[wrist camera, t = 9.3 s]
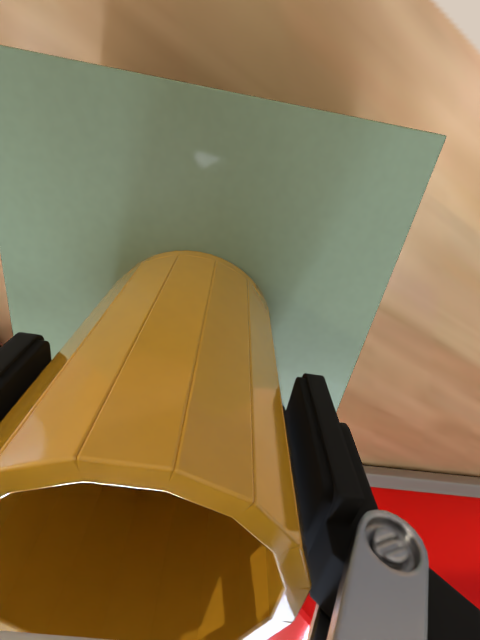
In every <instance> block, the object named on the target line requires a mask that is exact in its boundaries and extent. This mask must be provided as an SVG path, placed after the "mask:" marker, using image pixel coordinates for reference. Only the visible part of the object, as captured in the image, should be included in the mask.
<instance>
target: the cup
mask: <svg viewBox="0 0 480 640" xmlns="http://www.w3.org/2000/svg"><path fill="white" fill-rule="evenodd" d="M311 585H312V581H311V574H310V567H309V561H308V554H307V548H306V541H305V535H304V528H303V522H302V515H301V508H300V502H299V495H298V489H297V482H296V476H295V469H294V463H293V456H292V450H291V443H290V436H289V430H288V423H287V417H286V410H285V404H284V397H283V391H282V384H281V377H280V371H279V364H278V358H277V351H276V345H275V338H274V332H273V328H272V323H271V317H270V312H269V308H268V305H267V302H266V300H265V298H264V296H263V294H262V292H261V291H260V289H259V288H258V286H257V285H256V284H255V283H254V281H253V280H252V279H251V278H250V277H249V276H248V275H247V274H246V273H245V272H243V271H242V270H241V269H239V268H238V267H237V266H235V265H234V264H232V263H230V262H228V261H226V260H224V259H222V258H220V257H217V256H214V255H212V254H208V253H203V252H198V251H189V250H183V251H170V252H164V253H161V254H157V255H154V256H151V257H149V258H147V259H145V260H143V261H141V262H140V263H138V264H136V265H135V266H133V267H132V268H131V269H130V270H129V271H128V272H127V273H126V274H125V275H124V276H123V277H122V278H121V279H119V280H118V281H117V282H116V283H115V284H114V285H113V287H112V288H111V289H110V290H109V291H108V293H107V294H106V295H105V296H104V298H103V299H102V300H101V301H100V302H99V304H98V305H97V306H96V307H95V308H94V310H93V311H92V312H91V313H90V314H89V316H88V317H87V318H86V319H85V321H84V322H83V323H82V324H81V325H80V327H79V328H78V329H77V330H76V331H75V333H74V334H73V335H72V336H71V337H70V339H69V340H68V341H67V342H66V344H65V345H64V346H63V347H62V348H61V350H60V351H59V352H58V353H57V354H56V356H55V357H54V358H53V359H52V360H51V362H50V363H49V364H48V365H47V367H46V368H45V369H44V370H43V371H42V373H41V374H40V375H39V376H38V377H37V379H36V380H35V381H34V382H33V384H32V385H31V386H30V387H29V388H28V390H27V391H26V392H25V393H24V394H23V396H22V397H21V398H20V399H19V400H18V402H17V403H16V404H15V405H14V407H13V408H12V409H11V410H10V411H9V413H8V414H7V415H6V416H5V417H4V419H3V420H2V421H1V422H0V631H12V632H24V633H36V634H48V635H61V636H73V637H85V638H97V639H109V640H267V639H269V638H271V637H272V636H274V635H275V634H277V633H278V632H280V631H281V630H283V629H284V628H286V627H287V626H289V625H290V624H292V622H293V621H295V619H296V617H297V615H298V613H299V611H300V609H301V607H302V605H303V603H304V602H305V600H306V598H307V596H308V594H309V592H310V590H311Z"/></svg>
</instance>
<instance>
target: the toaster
mask: <svg viewBox="0 0 480 640" xmlns="http://www.w3.org/2000/svg"><path fill="white" fill-rule="evenodd" d="M363 468H364V471H365V473H366V476H367V479H368V482H369V485H370V487H371V490H372V493H373V496H374V499H375V501H376V504H377V507H378V510H385V511H388V512H391V513H393V514H396V515H397V516H399V517H400V518H402V519H403V520H405V521H406V522H407V523H408V524H409V525H410V526H411V527H412V528H413V529H414V530H415V531H416V532H417V534H418V535H419V536H420V538H421V539H422V541H423V543H424V545H425V548H426V550H427V554H428V560H429V568H431V569H432V570H433V571H434V572H435V573H437V574H438V575H439V576H440V577H441V578H442V579H444V580H445V581H446V582H447V583H448V584H450V585H451V586H452V587H453V588H454V589H456V590H457V591H458V592H459V593H460V594H461V595H463V596H464V597H465V598H466V599H467V600H469V601H470V602H471V603H472V604H473V605H475V606H476V607H477V608H478V609H479V610H480V478H478V477H469V476H459V475H450V474H440V473H431V472H422V471H412V470H403V469H393V468H384V467H374V466H365V465H363ZM315 607H316V602H315V601H314V600H313V599H312V598H311V597H310V594H308V596H307V598H306V600H305V602H304V603H303V605H302V607H301V609H300V611H299V613H298V615H297V617H296V619H295V621H293V622H292V624H290V625H289V626H287V627H286V628H284V629H283V630H281V631H280V632H278V633H277V634H275V635H274V636H272V637H271V638H269V639H267V640H306V639H307V636H308V632H309V628H310V625H311V621H312V617H313V614H314V610H315Z"/></svg>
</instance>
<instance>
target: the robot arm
mask: <svg viewBox="0 0 480 640" xmlns="http://www.w3.org/2000/svg"><path fill="white" fill-rule="evenodd" d="M50 362H51V350H50V343H49V342H48V341H44V337H43V336H42V335H38V334H31V333H24V332H18V333H17V334H15V335H14V336H13V337H12V338H11V339H10V340H9V341H8V342H6V343H5V344H4V345H3V346H2V347H1V348H0V422H1V421H2V420H3V419H4V417H5V416H6V415H7V414H8V413H9V411H10V410H11V409H12V408H13V407H14V405H15V404H16V403H17V402H18V400H19V399H20V398H21V397H22V396H23V394H24V393H25V392H26V391H27V390H28V388H29V387H30V386H31V385H32V384H33V382H34V381H35V380H36V379H37V377H38V376H39V375H40V374H41V373H42V371H43V370H44V369H45V368H46V367H47V365H48V364H49V363H50ZM286 417H287V423H288V430H289V436H290V443H291V450H292V456H293V463H294V469H295V476H296V482H297V489H298V495H299V502H300V508H301V515H302V522H303V528H304V535H305V541H306V548H307V554H308V561H309V567H310V574H311V581H312V585H311V590H310V592H309V594H310V597H311V598H312V599H313V600H314V601H315V602H316V607H315V610H314V614H313V617H312V621H311V625H310V628H309V632H308V636H307V639H306V640H480V610H479V609H478V608H477V607H476V606H475V605H473V604H472V603H471V602H470V601H469V600H467V599H466V598H465V597H464V596H463V595H461V594H460V593H459V592H458V591H457V590H456V589H454V588H453V587H452V586H451V585H450V584H448V583H447V582H446V581H445V580H444V579H442V578H441V577H440V576H439V575H438V574H437V573H435V572H434V571H433V570H432V569H431V568H429V560H428V554H427V550H426V548H425V545H424V543H423V541H422V539H421V538H420V536H419V535H418V534H417V532H416V531H415V530H414V529H413V528H412V527H411V526H410V525H409V524H408V523H407V522H406V521H405V520H403V519H402V518H400V517H399V516H397V515H396V514H393V513H391V512H388V511H385V510H378V507H377V504H376V501H375V499H374V496H373V493H372V490H371V487H370V485H369V482H368V479H367V476H366V473H365V471H364V468H363V465H362V462H361V460H360V457H359V454H358V451H357V448H356V446H355V443H354V440H353V437H352V435H351V432H350V429H349V427H348V425H346V424H345V423H339V420H338V417H337V414H336V411H335V408H334V405H333V402H332V399H331V396H330V393H329V390H328V387H327V384H326V381H325V378H324V376H322V375H315V374H308V373H304V374H303V376H302V377H297V378H296V380H295V382H294V386H293V389H292V392H291V395H290V399H289V402H288V405H287V408H286ZM0 640H109V639H97V638H85V637H73V636H61V635H48V634H36V633H24V632H12V631H0Z"/></svg>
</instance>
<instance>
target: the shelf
mask: <svg viewBox="0 0 480 640" xmlns="http://www.w3.org/2000/svg"><path fill="white" fill-rule="evenodd" d="M445 139H446V136H445V135H442V134H437V133H432V132H427V131H422V130H417V129H412V128H407V127H402V126H397V125H392V124H387V123H383V122H378V121H373V120H368V119H363V118H358V117H353V116H348V115H343V114H338V113H333V112H328V111H323V110H319V109H314V108H309V107H304V106H299V105H294V104H289V103H284V102H279V101H274V100H269V99H264V98H259V97H255V96H250V95H245V94H240V93H235V92H230V91H225V90H220V89H215V88H210V87H205V86H200V85H195V84H191V83H186V82H181V81H176V80H171V79H166V78H161V77H156V76H151V75H146V74H141V73H136V72H131V71H127V70H122V69H117V68H112V67H107V66H102V65H97V64H92V63H87V62H82V61H77V60H72V59H67V58H63V57H58V56H53V55H48V54H43V53H38V52H33V51H28V50H23V49H18V48H13V47H8V46H3V45H0V254H1V260H2V266H3V273H4V279H5V286H6V292H7V298H8V305H9V311H10V317H11V324H12V330H13V336H14V335H15V334H17V333H18V332H24V333H31V334H38V335H42V336H43V337H44V341H48V342H49V343H50V350H51V360H52V359H53V358H54V357H55V356H56V354H57V353H58V352H59V351H60V350H61V348H62V347H63V346H64V345H65V344H66V342H67V341H68V340H69V339H70V337H71V336H72V335H73V334H74V333H75V331H76V330H77V329H78V328H79V327H80V325H81V324H82V323H83V322H84V321H85V319H86V318H87V317H88V316H89V314H90V313H91V312H92V311H93V310H94V308H95V307H96V306H97V305H98V304H99V302H100V301H101V300H102V299H103V298H104V296H105V295H106V294H107V293H108V291H109V290H110V289H111V288H112V287H113V285H114V284H115V283H116V282H117V281H118V280H119V279H121V278H122V277H123V276H124V275H125V274H126V273H127V272H128V271H129V270H130V269H131V268H132V267H133V266H135V265H136V264H138V263H140V262H141V261H143V260H145V259H147V258H149V257H151V256H154V255H157V254H161V253H164V252H170V251H183V250H189V251H198V252H203V253H208V254H212V255H214V256H217V257H220V258H222V259H224V260H226V261H228V262H230V263H232V264H234V265H235V266H237V267H238V268H239V269H241V270H242V271H243V272H245V273H246V274H247V275H248V276H249V277H250V278H251V279H252V280H253V281H254V283H255V284H256V285H257V286H258V288H259V289H260V291H261V292H262V294H263V296H264V298H265V300H266V302H267V305H268V308H269V312H270V317H271V323H272V328H273V332H274V338H275V345H276V351H277V358H278V364H279V371H280V377H281V384H282V391H283V397H284V404H285V410H286V408H287V405H288V402H289V399H290V395H291V392H292V389H293V386H294V382H295V380H296V378H297V377H302V376H303V374H304V373H308V374H315V375H322V376H324V378H325V381H326V384H327V387H328V390H329V393H330V396H331V399H332V402H333V405H334V408H335V411H336V412H337V409H338V407H339V404H340V402H341V399H342V397H343V394H344V392H345V389H346V387H347V384H348V382H349V379H350V377H351V374H352V372H353V369H354V367H355V364H356V362H357V359H358V357H359V354H360V352H361V349H362V347H363V344H364V342H365V339H366V337H367V334H368V332H369V329H370V327H371V324H372V322H373V319H374V317H375V314H376V312H377V309H378V307H379V304H380V302H381V299H382V297H383V294H384V292H385V289H386V287H387V284H388V282H389V279H390V277H391V274H392V272H393V269H394V267H395V264H396V262H397V259H398V257H399V254H400V252H401V249H402V247H403V244H404V242H405V239H406V237H407V234H408V232H409V229H410V227H411V224H412V222H413V219H414V217H415V214H416V212H417V209H418V207H419V204H420V202H421V199H422V197H423V194H424V192H425V189H426V187H427V184H428V182H429V179H430V177H431V174H432V172H433V169H434V167H435V164H436V162H437V159H438V157H439V154H440V152H441V149H442V147H443V144H444V142H445Z"/></svg>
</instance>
